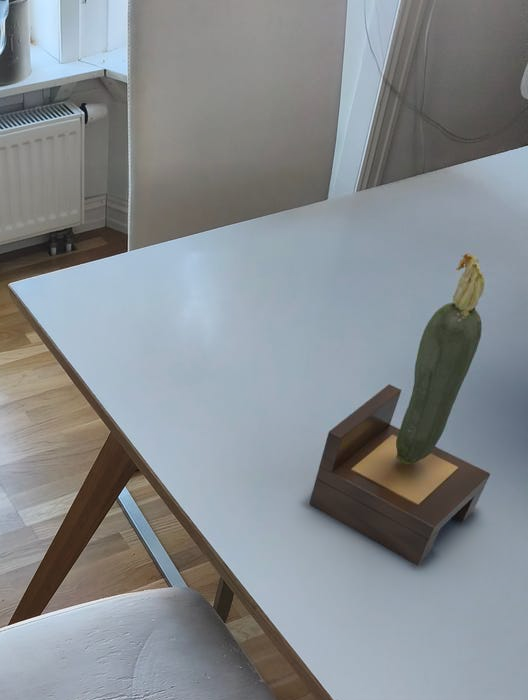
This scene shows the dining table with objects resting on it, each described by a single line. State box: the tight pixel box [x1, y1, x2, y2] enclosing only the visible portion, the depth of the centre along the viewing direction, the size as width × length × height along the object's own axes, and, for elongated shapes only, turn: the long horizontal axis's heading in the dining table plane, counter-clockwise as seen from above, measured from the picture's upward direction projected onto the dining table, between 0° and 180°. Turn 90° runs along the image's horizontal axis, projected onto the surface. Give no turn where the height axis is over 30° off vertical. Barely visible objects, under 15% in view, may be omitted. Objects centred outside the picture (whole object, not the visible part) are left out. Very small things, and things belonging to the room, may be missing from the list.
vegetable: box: [396, 252, 485, 464], centre depth 74 cm, size 4×4×20 cm
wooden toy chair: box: [308, 383, 491, 566], centre depth 82 cm, size 12×10×9 cm
